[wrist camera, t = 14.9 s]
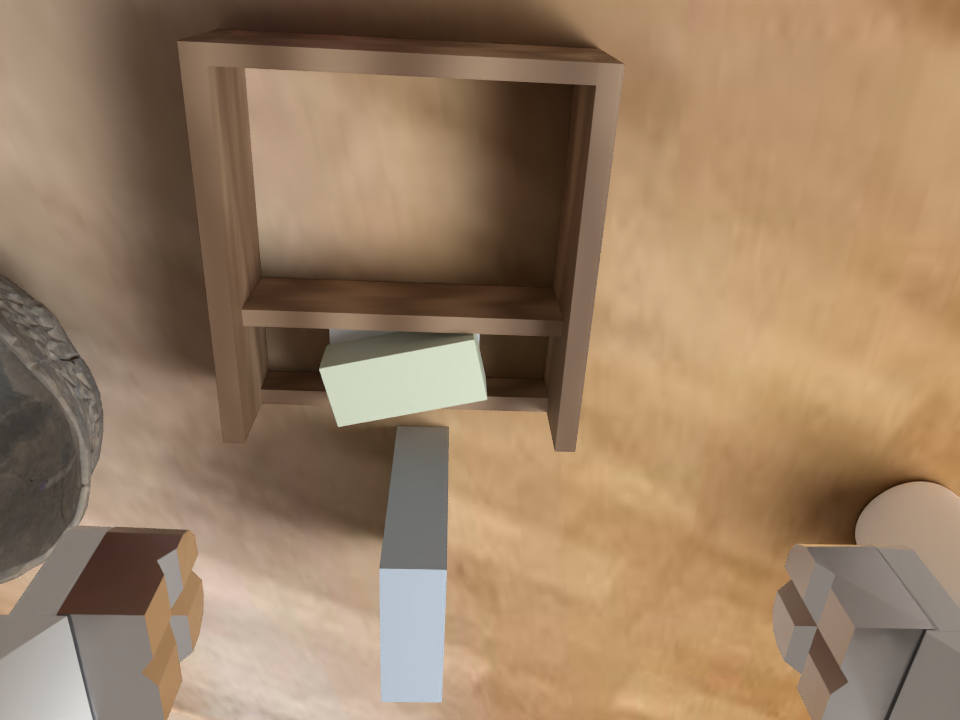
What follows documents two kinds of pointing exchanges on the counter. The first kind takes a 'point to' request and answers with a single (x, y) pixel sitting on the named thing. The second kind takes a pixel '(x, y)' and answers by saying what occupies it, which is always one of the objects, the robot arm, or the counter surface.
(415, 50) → the wooden tray
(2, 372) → the bowl
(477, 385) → the sage offcut
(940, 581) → the pill bottle
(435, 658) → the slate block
